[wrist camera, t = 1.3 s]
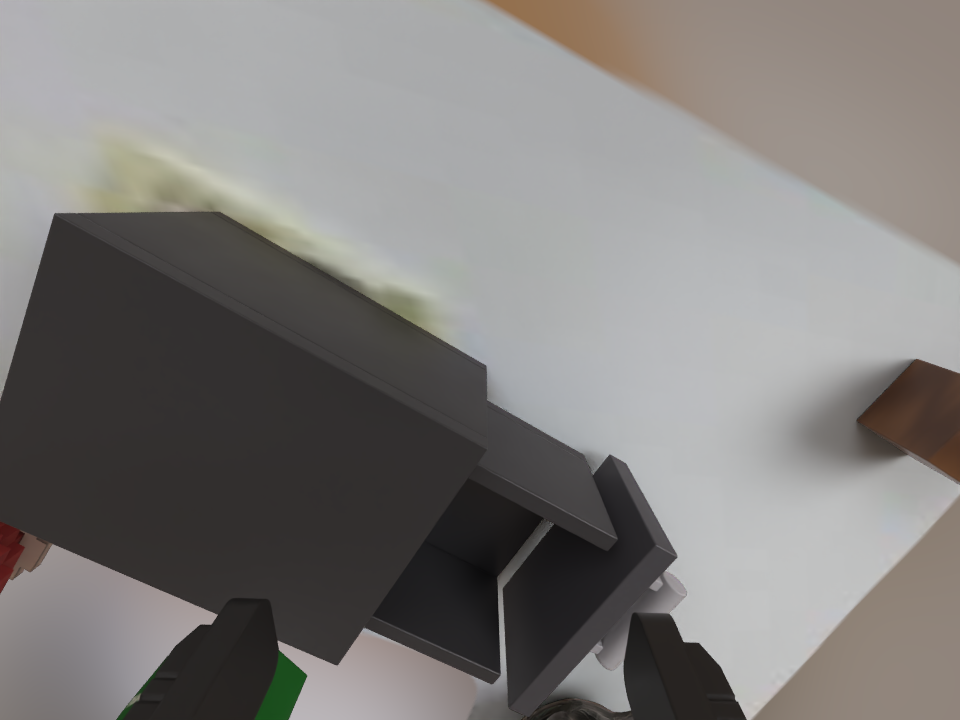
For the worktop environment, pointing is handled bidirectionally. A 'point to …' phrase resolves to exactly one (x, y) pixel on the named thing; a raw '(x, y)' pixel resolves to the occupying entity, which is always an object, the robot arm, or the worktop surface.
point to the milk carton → (278, 695)
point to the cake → (19, 552)
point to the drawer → (533, 566)
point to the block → (921, 416)
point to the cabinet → (230, 421)
